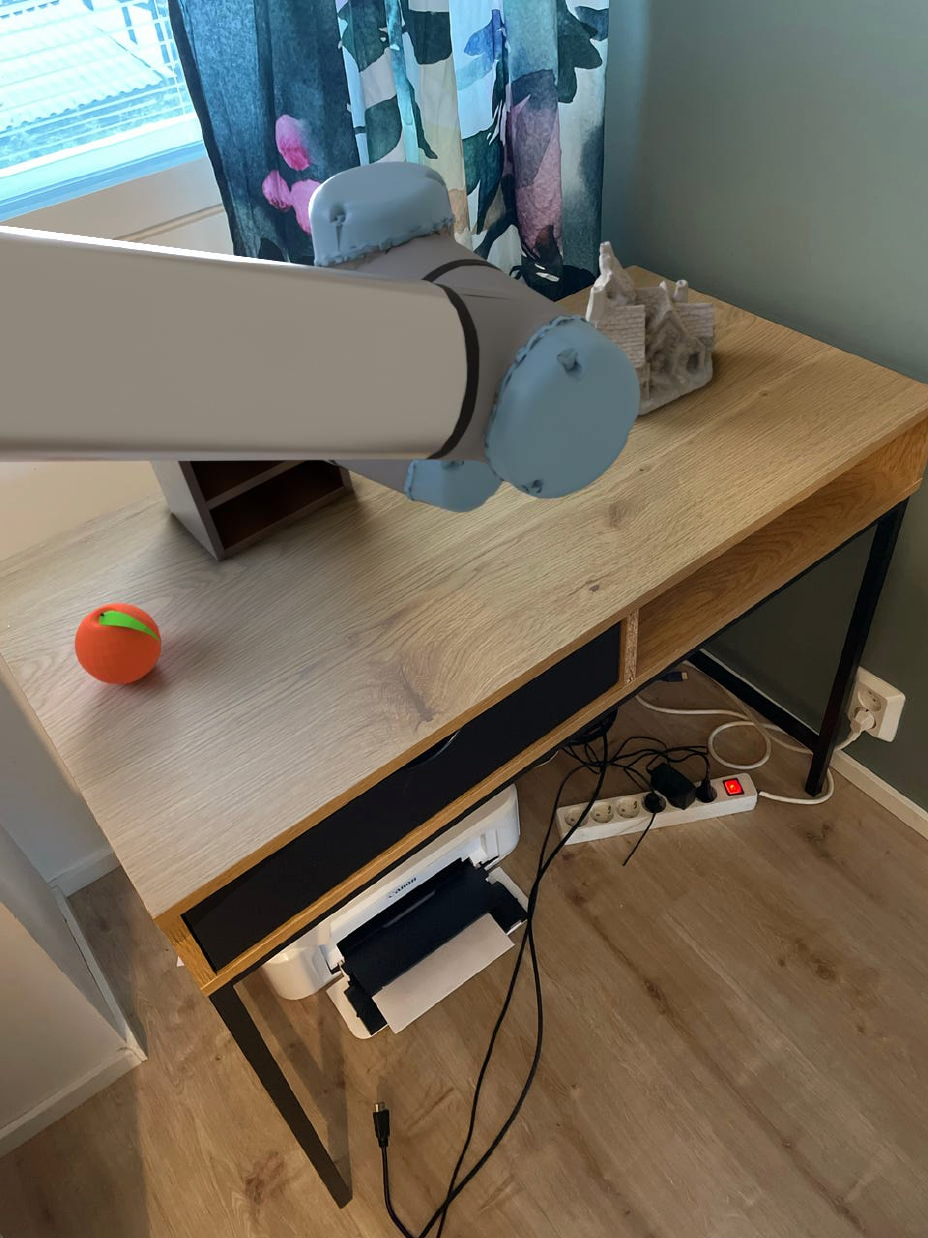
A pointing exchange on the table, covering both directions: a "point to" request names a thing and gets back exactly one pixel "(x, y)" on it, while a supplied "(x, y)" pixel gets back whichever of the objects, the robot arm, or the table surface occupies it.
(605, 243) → the ceramic cottage
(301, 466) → the shelf
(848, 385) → the table surface
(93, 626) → the clementine
